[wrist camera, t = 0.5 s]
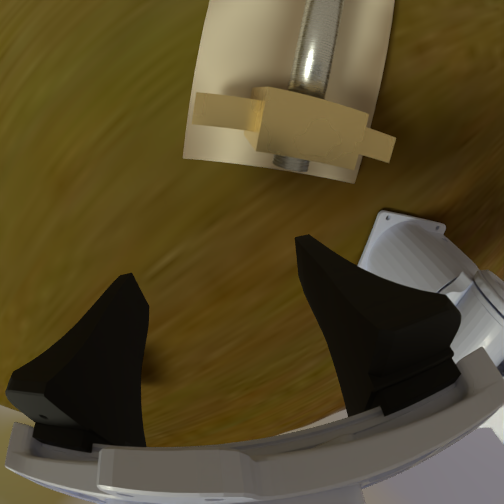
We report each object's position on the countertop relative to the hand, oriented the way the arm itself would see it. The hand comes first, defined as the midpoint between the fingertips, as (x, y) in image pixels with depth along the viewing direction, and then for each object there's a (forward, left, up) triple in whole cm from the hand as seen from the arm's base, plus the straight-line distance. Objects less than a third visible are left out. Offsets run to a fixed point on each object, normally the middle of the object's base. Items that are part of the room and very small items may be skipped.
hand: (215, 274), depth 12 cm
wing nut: (-4, -6, -8) cm, 11 cm away
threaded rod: (-4, -12, -6) cm, 14 cm away
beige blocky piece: (-4, -13, -9) cm, 16 cm away
